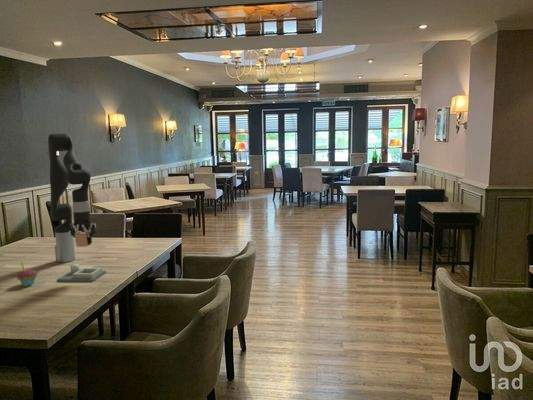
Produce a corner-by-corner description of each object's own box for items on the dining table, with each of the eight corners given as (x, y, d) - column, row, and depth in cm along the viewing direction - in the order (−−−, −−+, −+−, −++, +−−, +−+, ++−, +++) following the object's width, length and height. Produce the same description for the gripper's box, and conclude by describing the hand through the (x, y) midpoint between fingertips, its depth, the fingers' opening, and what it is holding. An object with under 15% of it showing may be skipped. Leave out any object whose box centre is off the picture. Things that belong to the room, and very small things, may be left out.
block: (76, 246, 196) (75, 234, 196) (82, 244, 201) (81, 232, 201) (86, 246, 196) (85, 234, 195) (91, 244, 201) (90, 232, 200)
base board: (57, 281, 195) (56, 271, 195) (72, 272, 209) (71, 263, 208) (92, 281, 194) (91, 271, 193) (106, 272, 208) (105, 263, 207)
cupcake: (23, 288, 186) (20, 263, 185) (14, 285, 191) (11, 261, 189) (42, 283, 193) (39, 259, 192) (32, 280, 198) (30, 256, 196)
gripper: (63, 211, 193) (66, 246, 196) (91, 211, 192) (94, 246, 194) (71, 209, 201) (74, 242, 203) (99, 209, 199) (101, 242, 202)
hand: (84, 243), depth 199 cm, fingers closed on block, 5 cm apart
